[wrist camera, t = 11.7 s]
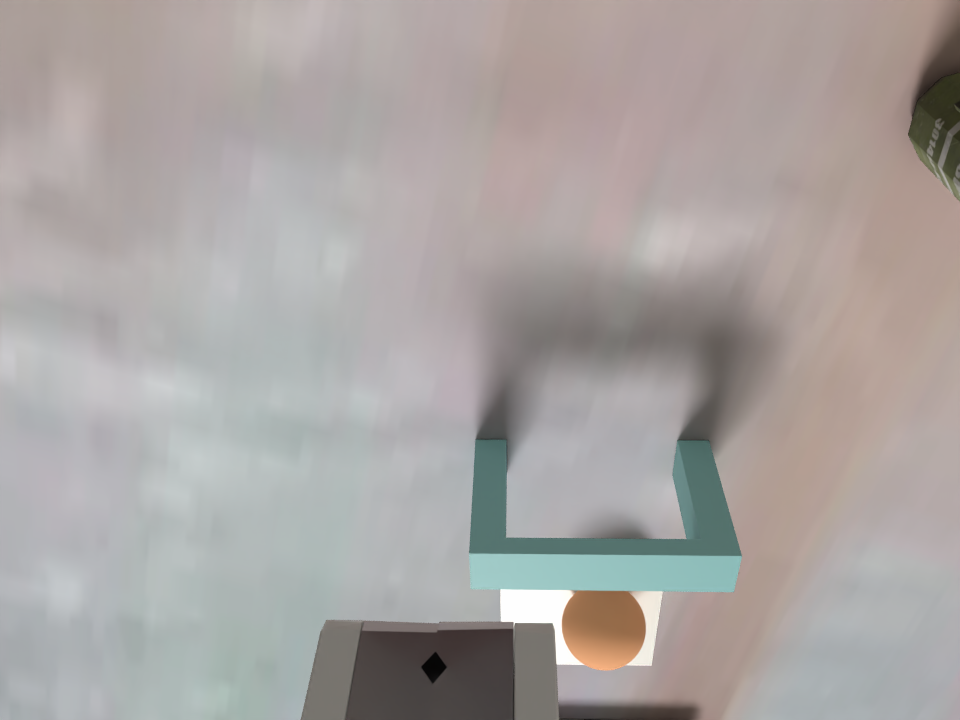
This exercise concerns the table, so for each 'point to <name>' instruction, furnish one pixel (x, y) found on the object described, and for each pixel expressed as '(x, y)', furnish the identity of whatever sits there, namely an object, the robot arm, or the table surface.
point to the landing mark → (550, 610)
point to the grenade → (939, 131)
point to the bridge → (607, 562)
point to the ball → (603, 628)
